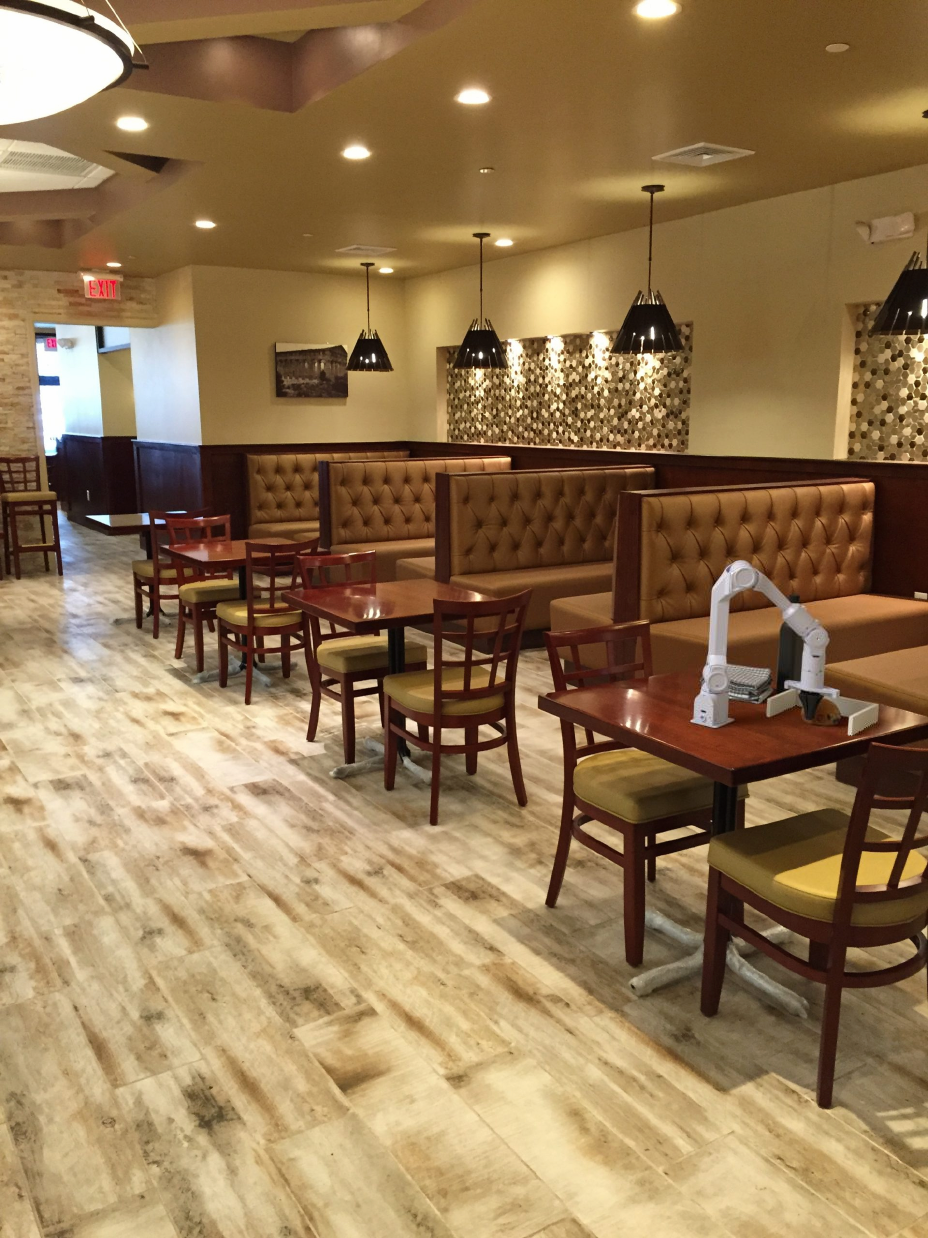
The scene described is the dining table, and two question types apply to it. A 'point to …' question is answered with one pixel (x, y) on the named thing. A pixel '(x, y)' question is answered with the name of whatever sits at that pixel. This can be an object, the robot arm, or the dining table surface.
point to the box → (856, 710)
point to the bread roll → (824, 714)
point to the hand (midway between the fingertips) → (809, 718)
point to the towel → (748, 683)
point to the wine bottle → (789, 653)
